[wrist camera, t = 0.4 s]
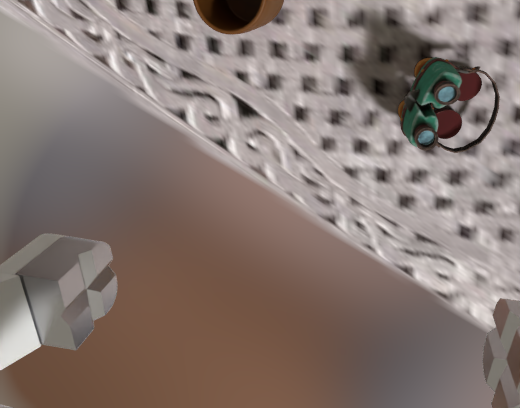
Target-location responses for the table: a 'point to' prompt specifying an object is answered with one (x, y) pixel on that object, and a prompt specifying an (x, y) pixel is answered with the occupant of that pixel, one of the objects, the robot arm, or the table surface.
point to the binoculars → (440, 103)
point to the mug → (237, 14)
